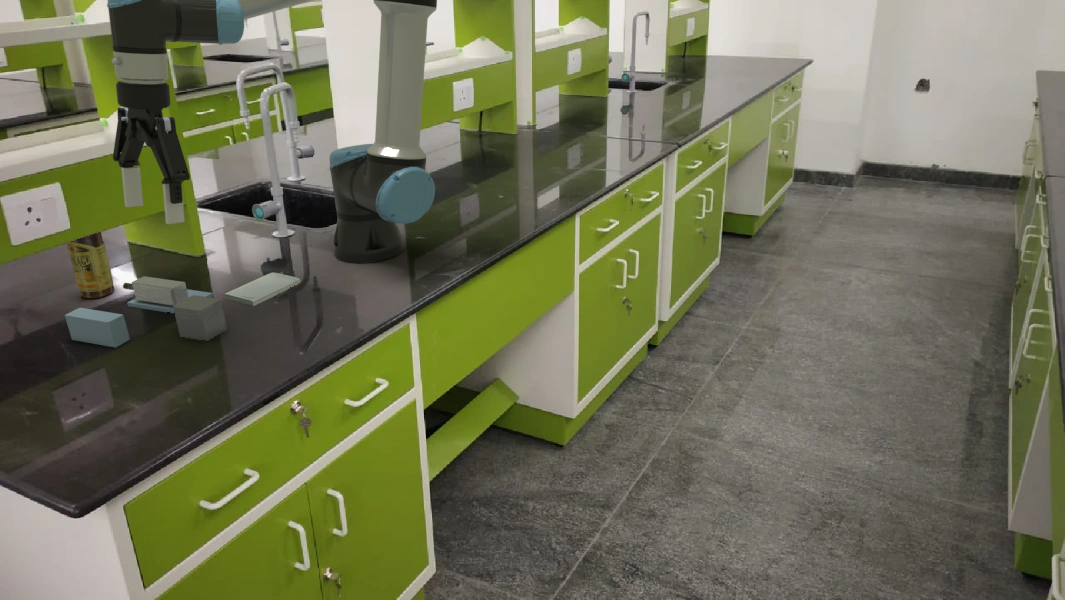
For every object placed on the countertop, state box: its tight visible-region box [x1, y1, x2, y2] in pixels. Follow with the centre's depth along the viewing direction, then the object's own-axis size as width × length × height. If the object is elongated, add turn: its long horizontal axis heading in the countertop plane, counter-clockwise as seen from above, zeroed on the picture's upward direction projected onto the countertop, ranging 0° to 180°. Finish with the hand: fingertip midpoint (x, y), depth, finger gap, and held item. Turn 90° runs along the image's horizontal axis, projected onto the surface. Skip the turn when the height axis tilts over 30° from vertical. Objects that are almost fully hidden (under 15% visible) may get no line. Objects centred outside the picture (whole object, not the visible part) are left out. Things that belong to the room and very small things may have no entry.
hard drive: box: [222, 271, 302, 307], centre depth 159 cm, size 2×8×12 cm
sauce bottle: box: [66, 231, 115, 299], centre depth 156 cm, size 7×6×20 cm
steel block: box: [173, 295, 228, 342], centre depth 141 cm, size 6×5×6 cm
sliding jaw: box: [122, 275, 189, 306], centre depth 153 cm, size 14×3×4 cm, turn 69°
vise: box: [64, 288, 214, 348], centre depth 149 cm, size 13×23×5 cm, turn 159°
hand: (154, 214), depth 133 cm, fingers open, 13 cm apart
